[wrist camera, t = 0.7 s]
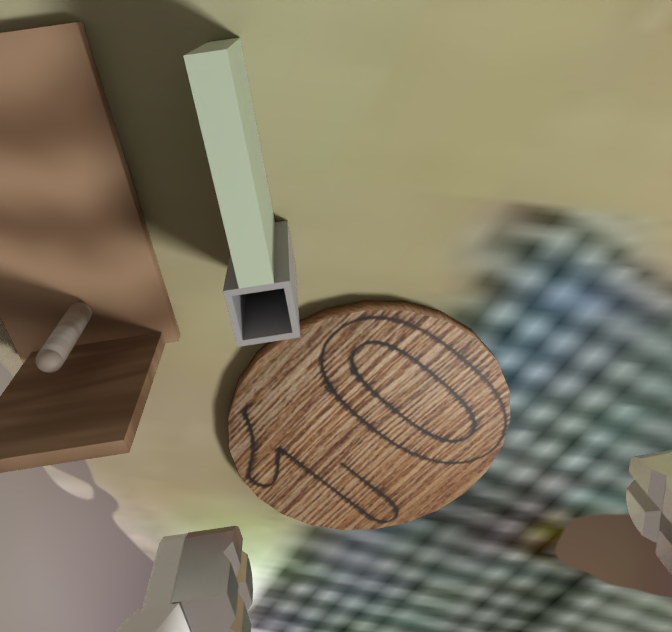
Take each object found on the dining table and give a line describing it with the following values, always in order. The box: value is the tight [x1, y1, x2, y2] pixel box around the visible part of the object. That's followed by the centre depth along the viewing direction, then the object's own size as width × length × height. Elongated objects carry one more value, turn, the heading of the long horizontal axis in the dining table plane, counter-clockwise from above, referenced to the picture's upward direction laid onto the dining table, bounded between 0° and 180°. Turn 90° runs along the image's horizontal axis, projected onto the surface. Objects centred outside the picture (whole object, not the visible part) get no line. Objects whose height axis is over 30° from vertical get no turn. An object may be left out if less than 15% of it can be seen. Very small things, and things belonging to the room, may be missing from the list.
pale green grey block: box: [183, 38, 300, 347], centre depth 33 cm, size 16×4×10 cm, turn 7°
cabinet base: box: [0, 22, 180, 473], centre depth 32 cm, size 22×12×13 cm, turn 7°
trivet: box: [228, 301, 510, 530], centre depth 49 cm, size 25×25×2 cm
